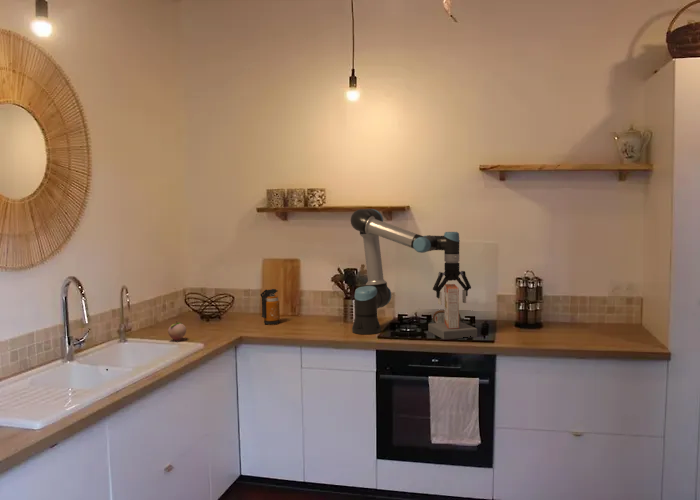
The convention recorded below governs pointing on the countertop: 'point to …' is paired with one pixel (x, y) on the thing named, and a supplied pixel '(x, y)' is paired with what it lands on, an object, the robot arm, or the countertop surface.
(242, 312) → the countertop surface
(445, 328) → the podium
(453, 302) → the cracker box
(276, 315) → the canister
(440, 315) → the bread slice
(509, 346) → the countertop surface
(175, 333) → the decorative fruit
